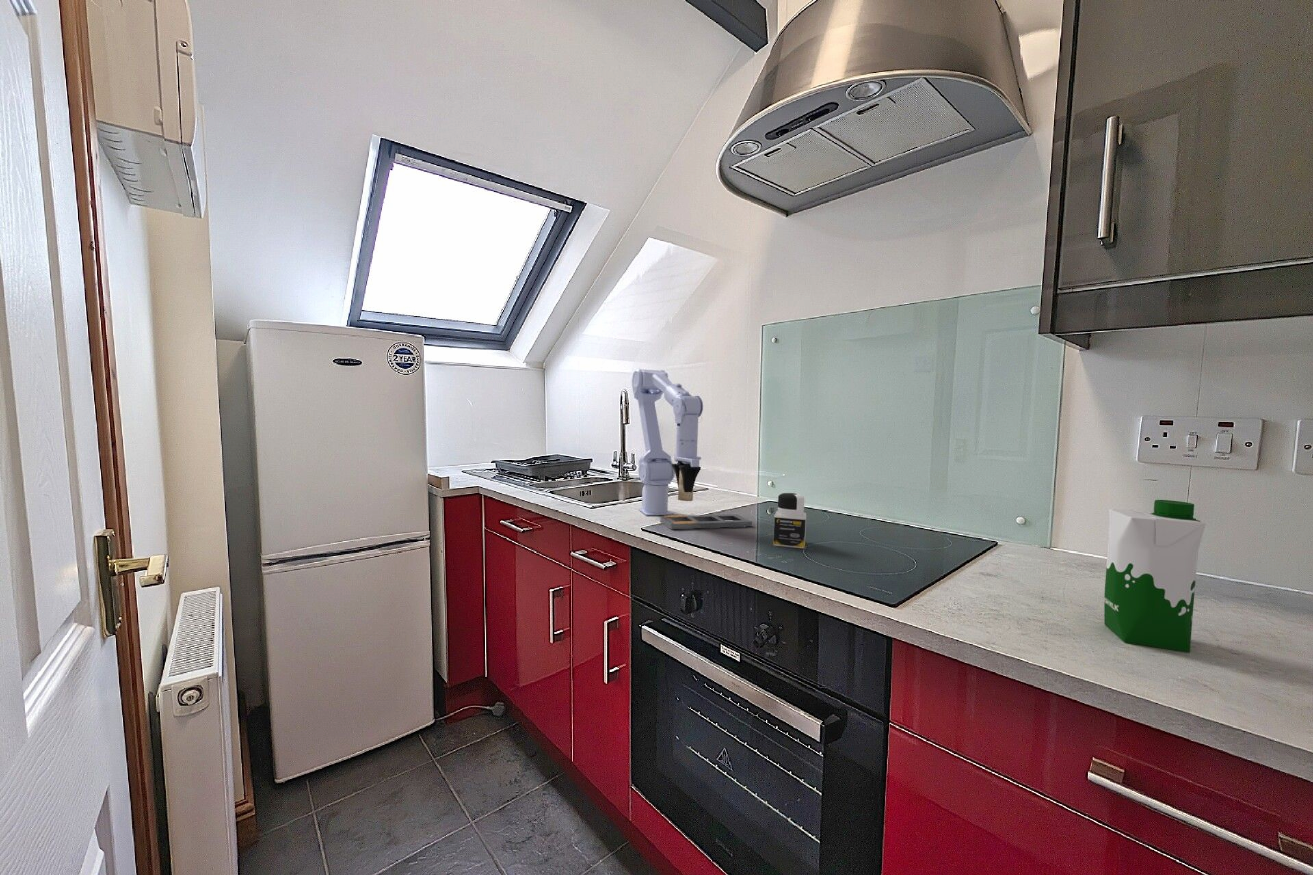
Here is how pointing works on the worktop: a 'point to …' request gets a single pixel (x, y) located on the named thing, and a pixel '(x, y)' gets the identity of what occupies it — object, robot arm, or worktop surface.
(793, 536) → the medicine bottle
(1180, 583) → the milk carton
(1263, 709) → the worktop surface
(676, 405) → the robot arm
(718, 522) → the gray compartment tray
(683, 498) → the peg
